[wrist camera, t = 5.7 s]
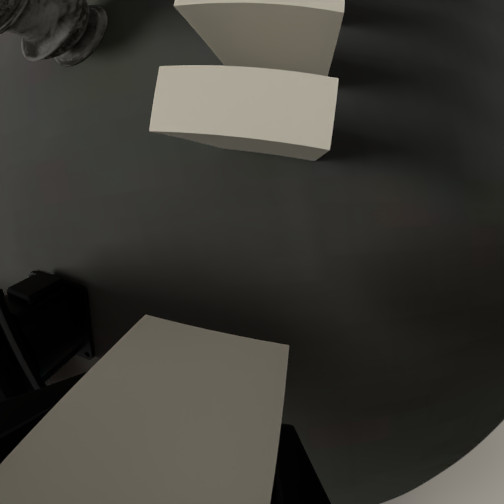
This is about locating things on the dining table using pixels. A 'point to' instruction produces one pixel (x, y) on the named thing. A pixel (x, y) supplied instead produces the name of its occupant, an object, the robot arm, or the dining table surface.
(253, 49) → the domino
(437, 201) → the dining table surface
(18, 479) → the domino
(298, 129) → the domino
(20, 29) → the chess piece
